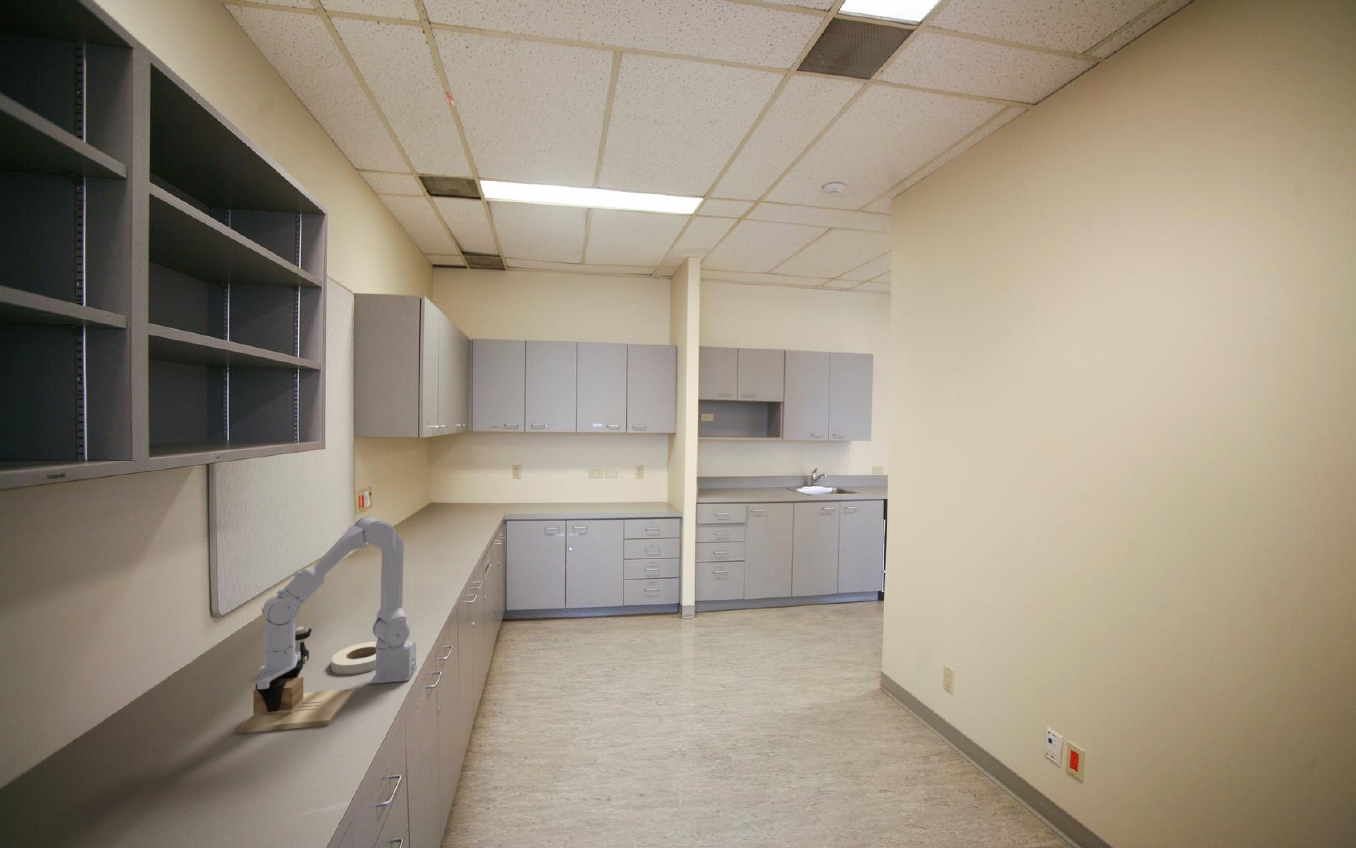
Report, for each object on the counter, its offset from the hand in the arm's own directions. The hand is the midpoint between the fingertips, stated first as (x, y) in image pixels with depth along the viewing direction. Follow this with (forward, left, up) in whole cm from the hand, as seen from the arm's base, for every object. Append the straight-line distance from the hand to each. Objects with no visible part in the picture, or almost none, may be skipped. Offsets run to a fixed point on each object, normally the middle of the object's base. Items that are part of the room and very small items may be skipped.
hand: (280, 704), depth 123 cm
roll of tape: (-8, -26, -3) cm, 27 cm away
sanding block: (0, 0, -1) cm, 1 cm away
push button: (+9, -27, -2) cm, 28 cm away
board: (-4, 0, -2) cm, 5 cm away
